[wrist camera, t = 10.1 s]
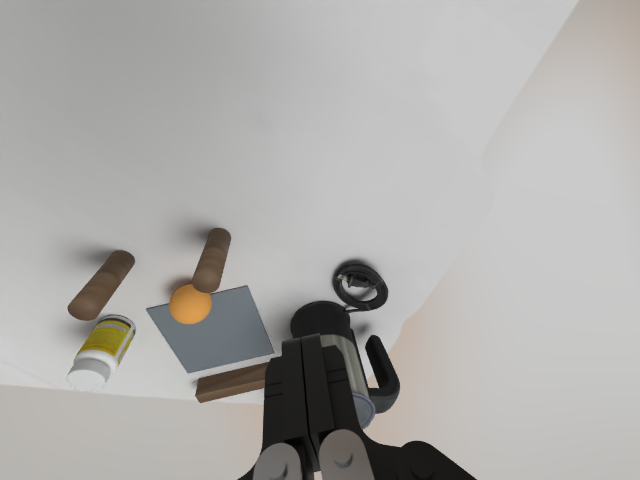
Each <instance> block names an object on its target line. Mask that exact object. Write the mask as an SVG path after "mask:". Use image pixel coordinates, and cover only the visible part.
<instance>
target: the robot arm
mask: <svg viewBox="0 0 640 480" xmlns="http://www.w3.org/2000/svg"><path fill="white" fill-rule="evenodd" d="M264 398H265V399H264V416H263V443H262V449H261V453H260V456H259V458H258V460H257V462H256V463H255V465H254V466H253V467H252V468H251V470H250V471H249V472H247V474H245V475H244V476H242V477H241V478H239V479H238V480H314V472H317V471H321V473H322V479H323V480H477V479H475V478H474V477H473V476H471V475H470V474H469V473H467V472H466V471H465V470H464V469H462V468H461V467H460V466H458V465H457V464H456V463H454V462H453V461H452V460H450V459H449V458H448V457H446V456H445V455H444V454H443V453H441V452H440V451H439V450H437V449H436V448H434V447H433V446H432V445H430V444H428V443H426V442H422V441H411V442H408V443H406V444H405V445H404V446H402V447H395V446H388V445H383V444H379V443H377V442H375V441H373V440H371V439H370V438H369V437H368V436H367V435H366V434H365V433H364V432H363V430H362V429H361V427H360V424H359V421H358V417H357V412H356V408H355V404H354V399H353V395H352V390H351V386H350V382H349V377H348V373H347V369H346V364H345V360H344V356H343V354H342V352H341V351H340V350H339V348H338V347H337V346H336V345H331V346H326V347H323V345H322V341H321V336H320V333H318V334H314V335H309V336H304V337H302V340H301V338H295V339H291V340H286V341H282V356H280V357H276V358H271V359H270V362H269V364H268V366H267V368H266V371H265V388H264Z"/></svg>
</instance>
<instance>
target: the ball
mask: <svg viewBox="0 0 640 480" xmlns="http://www.w3.org/2000/svg"><path fill="white" fill-rule="evenodd" d="M211 306H212V299H211V296H210V294H209V293H202V292H199V291H197V290H196V289H195V288H194V287H193V285H192V284H189V285H185V286H182V287H180V288H179V289H177V290H176V291H175V292H174V294H173V295H172V297H171V299H170V303H169V310H170V313H171V315H172V316H173V318H174V319H175V320H177V321H178V322H180V323H183V324H195V323H198V322H200V321H202V320H203V319H204V318H205V317H206V316H207V315H208V314H209V312H210V310H211Z"/></svg>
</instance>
